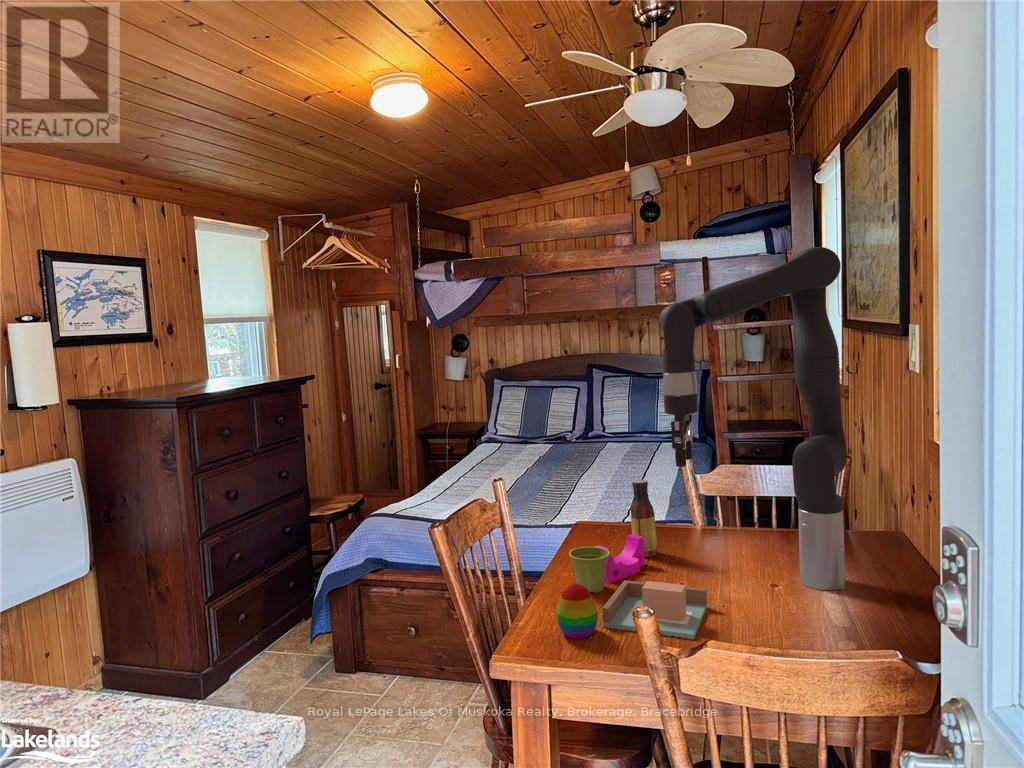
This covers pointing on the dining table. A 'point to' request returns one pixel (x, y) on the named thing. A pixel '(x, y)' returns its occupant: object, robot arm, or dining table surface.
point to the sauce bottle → (643, 517)
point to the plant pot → (590, 567)
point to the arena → (630, 597)
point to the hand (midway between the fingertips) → (684, 463)
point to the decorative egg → (577, 612)
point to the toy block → (625, 559)
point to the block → (665, 599)
